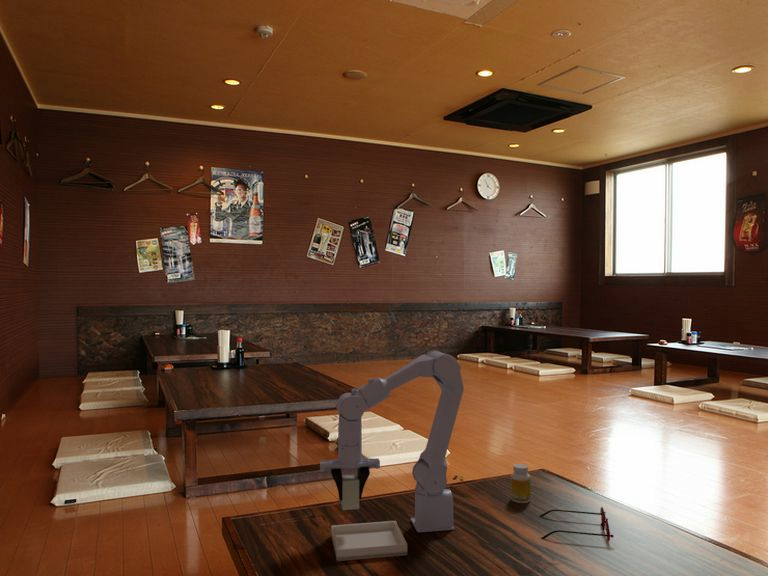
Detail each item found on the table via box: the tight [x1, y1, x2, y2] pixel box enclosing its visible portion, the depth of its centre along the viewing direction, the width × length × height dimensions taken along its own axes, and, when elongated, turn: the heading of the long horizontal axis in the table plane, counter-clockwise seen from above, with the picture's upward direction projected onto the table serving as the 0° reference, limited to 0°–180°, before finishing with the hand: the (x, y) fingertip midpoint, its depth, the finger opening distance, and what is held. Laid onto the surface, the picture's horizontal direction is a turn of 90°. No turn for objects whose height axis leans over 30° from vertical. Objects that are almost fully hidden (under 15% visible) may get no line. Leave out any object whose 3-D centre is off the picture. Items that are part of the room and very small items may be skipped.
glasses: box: [538, 506, 615, 542], centre depth 145 cm, size 14×16×5 cm
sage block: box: [340, 474, 360, 511], centre depth 142 cm, size 4×4×7 cm
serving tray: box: [330, 520, 408, 562], centre depth 136 cm, size 16×13×2 cm
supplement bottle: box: [510, 463, 531, 504], centre depth 164 cm, size 5×5×10 cm
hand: (350, 498), depth 142 cm, fingers closed on sage block, 4 cm apart
